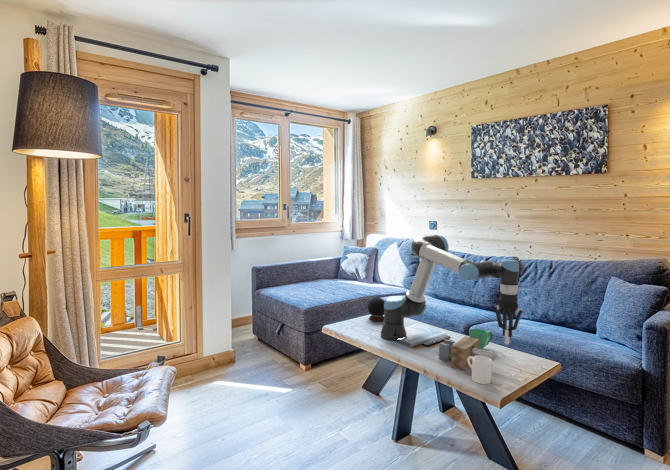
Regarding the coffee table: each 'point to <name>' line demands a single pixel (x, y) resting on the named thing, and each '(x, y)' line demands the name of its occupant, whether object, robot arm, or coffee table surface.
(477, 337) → the mug
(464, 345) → the beam
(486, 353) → the axle
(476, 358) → the mug
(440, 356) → the cradle
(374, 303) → the black ball on base
